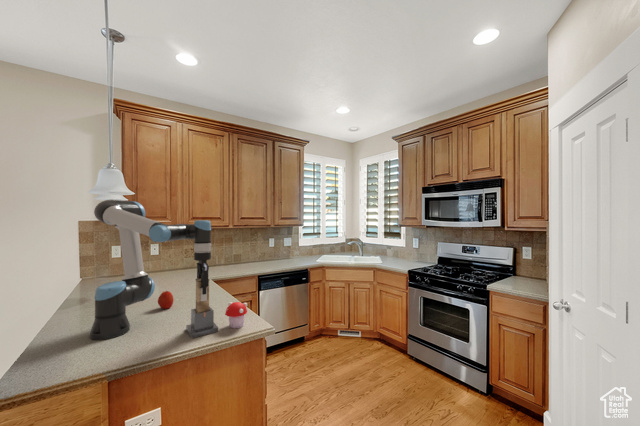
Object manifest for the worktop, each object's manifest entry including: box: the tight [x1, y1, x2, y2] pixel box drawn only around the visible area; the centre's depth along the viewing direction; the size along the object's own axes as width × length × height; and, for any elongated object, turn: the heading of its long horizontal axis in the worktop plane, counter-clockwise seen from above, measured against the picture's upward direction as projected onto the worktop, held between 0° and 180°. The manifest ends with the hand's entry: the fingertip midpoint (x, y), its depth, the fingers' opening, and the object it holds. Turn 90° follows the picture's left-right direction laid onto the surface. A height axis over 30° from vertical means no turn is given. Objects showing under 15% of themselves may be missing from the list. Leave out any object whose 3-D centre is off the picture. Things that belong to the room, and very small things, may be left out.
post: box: [195, 278, 210, 313], centre depth 132 cm, size 5×5×20 cm
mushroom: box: [224, 301, 248, 329], centre depth 138 cm, size 11×11×12 cm
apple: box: [157, 290, 174, 310], centre depth 164 cm, size 8×8×11 cm
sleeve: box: [185, 305, 219, 339], centre depth 132 cm, size 12×12×10 cm
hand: (202, 299), depth 132 cm, fingers closed on post, 5 cm apart
